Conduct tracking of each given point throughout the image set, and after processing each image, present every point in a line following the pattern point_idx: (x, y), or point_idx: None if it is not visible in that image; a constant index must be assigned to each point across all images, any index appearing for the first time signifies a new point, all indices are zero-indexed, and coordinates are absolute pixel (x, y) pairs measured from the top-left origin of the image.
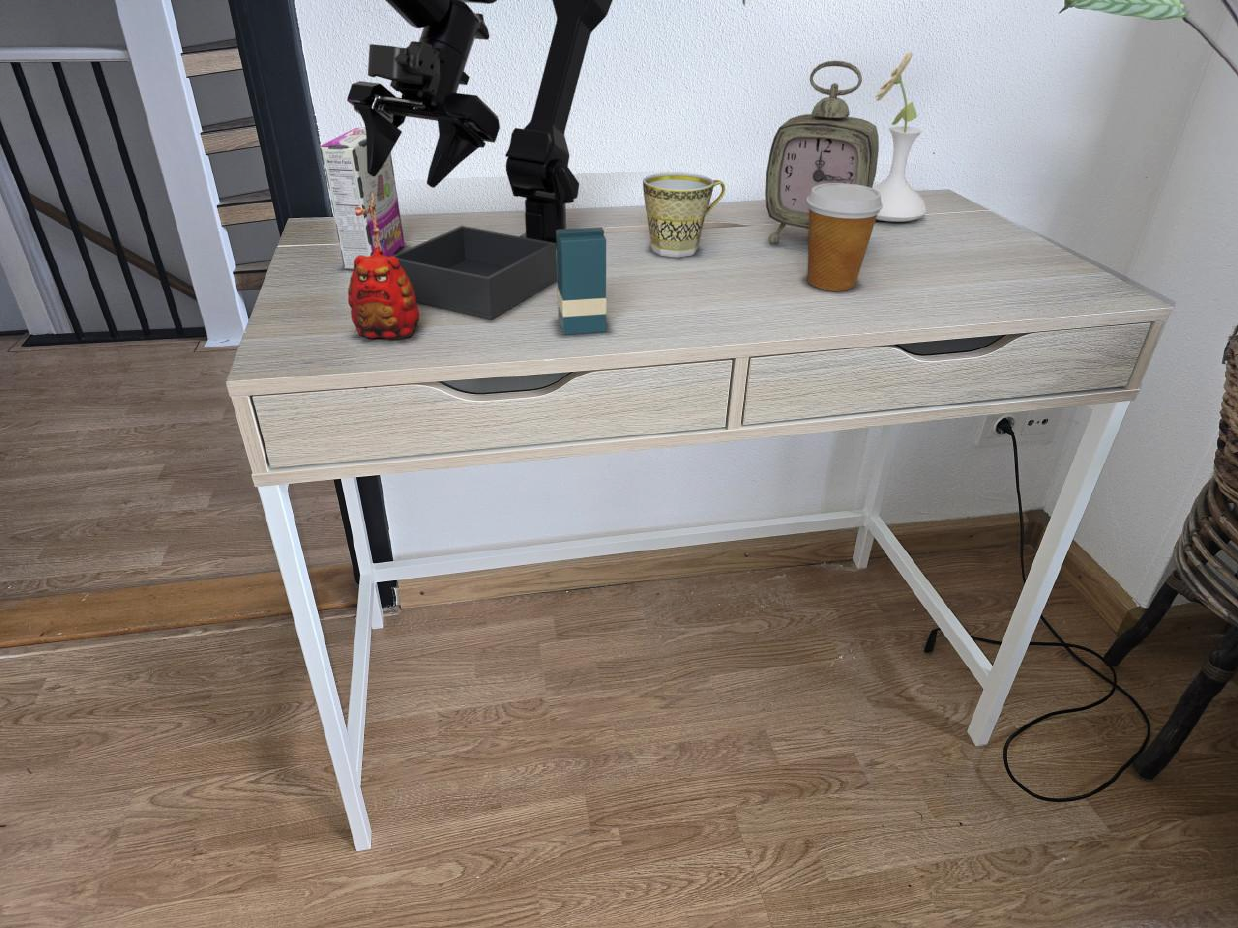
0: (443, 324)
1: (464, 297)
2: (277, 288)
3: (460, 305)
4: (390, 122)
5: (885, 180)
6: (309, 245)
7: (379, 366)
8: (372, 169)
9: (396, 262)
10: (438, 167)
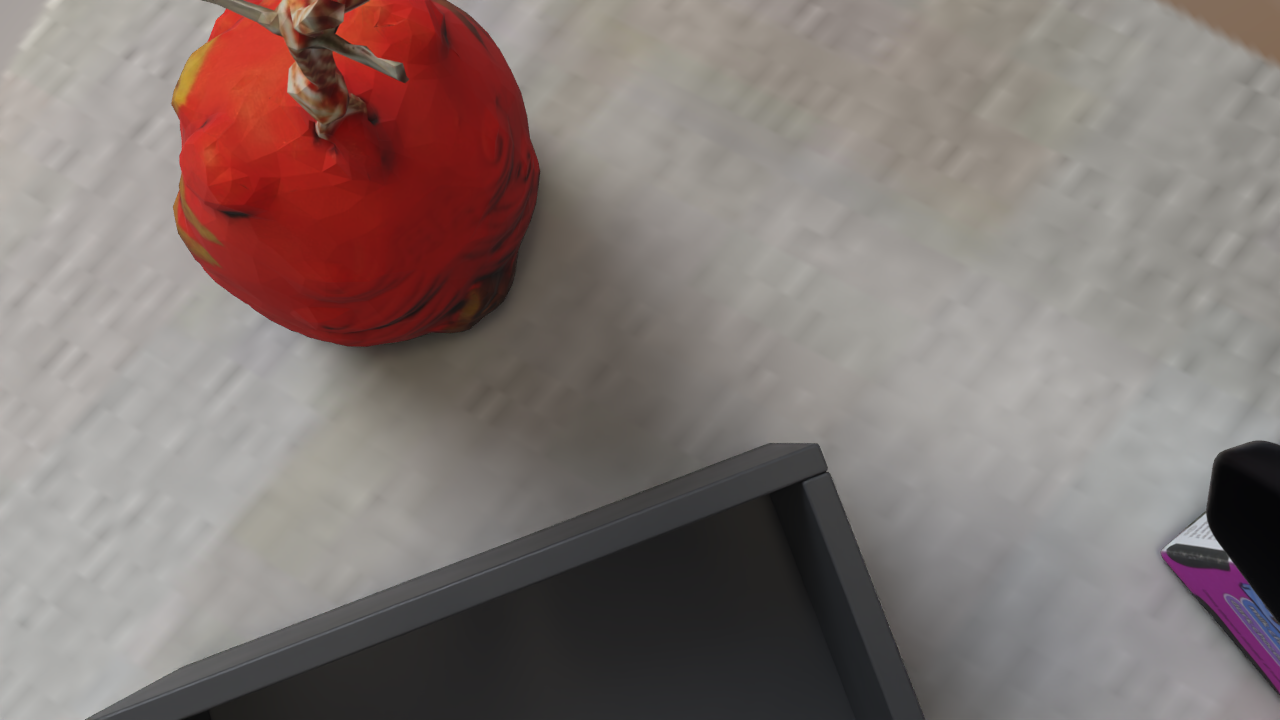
0: (302, 456)
1: (304, 626)
2: (1226, 69)
3: (349, 605)
4: None
5: None
6: None
7: (106, 13)
8: (1261, 508)
9: (187, 176)
10: None
